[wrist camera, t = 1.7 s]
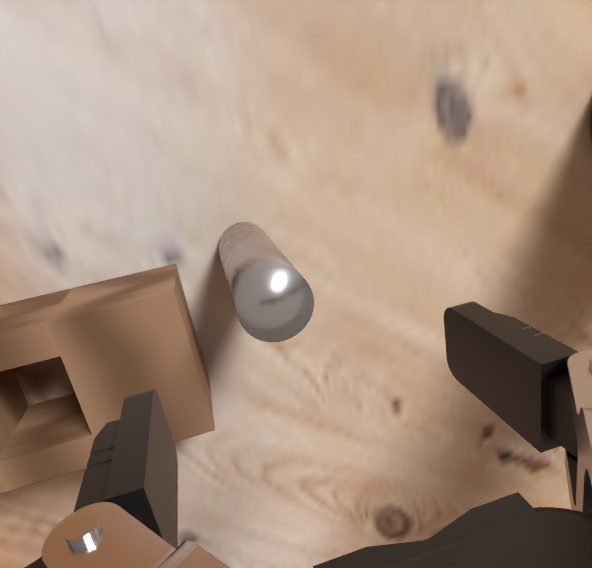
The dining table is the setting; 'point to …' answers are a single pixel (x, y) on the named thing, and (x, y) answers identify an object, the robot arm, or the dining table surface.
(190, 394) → the socket block
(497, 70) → the dining table surface
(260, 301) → the pin
